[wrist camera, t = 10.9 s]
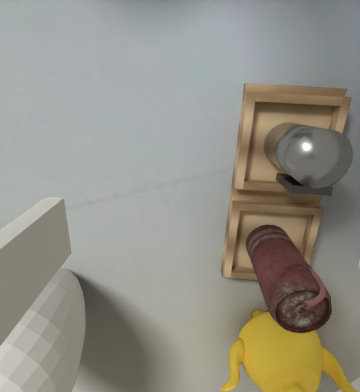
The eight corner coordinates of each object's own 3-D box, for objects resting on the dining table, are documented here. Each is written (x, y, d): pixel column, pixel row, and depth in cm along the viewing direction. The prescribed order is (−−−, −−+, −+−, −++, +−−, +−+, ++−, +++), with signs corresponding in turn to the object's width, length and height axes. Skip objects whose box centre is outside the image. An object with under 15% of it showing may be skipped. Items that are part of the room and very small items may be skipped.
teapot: (209, 358, 49) (214, 430, 38) (218, 293, 44) (226, 355, 33) (317, 367, 49) (353, 443, 38) (338, 303, 44) (386, 368, 33)
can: (296, 230, 38) (350, 298, 25) (273, 264, 40) (313, 344, 27) (258, 214, 37) (294, 276, 24) (237, 250, 40) (260, 324, 26)
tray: (244, 84, 33) (249, 82, 30) (340, 89, 33) (354, 88, 30) (221, 271, 43) (223, 283, 40) (295, 276, 42) (302, 288, 39)
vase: (80, 340, 49) (-24, 559, 25) (-8, 291, 46) (-217, 488, 23) (131, 276, 44) (59, 477, 20) (35, 217, 41) (-179, 372, 17)
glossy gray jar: (267, 120, 33) (297, 127, 24) (312, 123, 33) (359, 131, 24) (259, 170, 35) (284, 194, 26) (301, 172, 35) (341, 197, 26)
